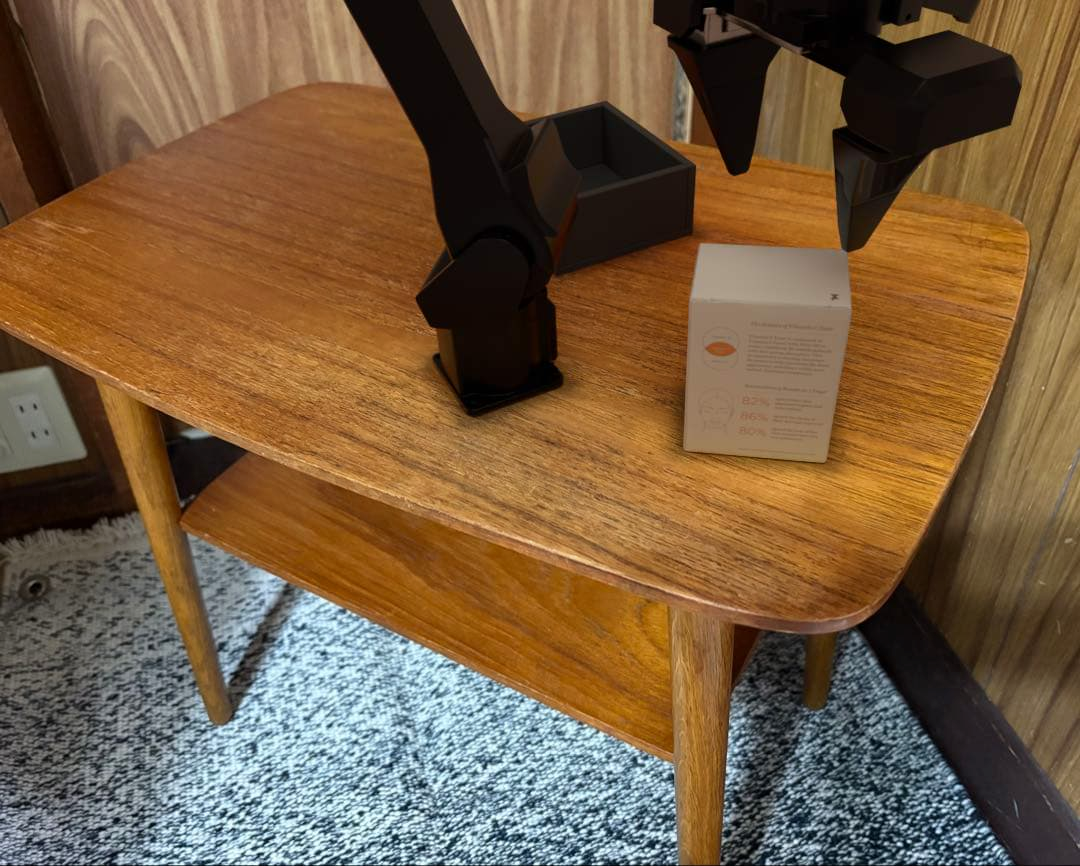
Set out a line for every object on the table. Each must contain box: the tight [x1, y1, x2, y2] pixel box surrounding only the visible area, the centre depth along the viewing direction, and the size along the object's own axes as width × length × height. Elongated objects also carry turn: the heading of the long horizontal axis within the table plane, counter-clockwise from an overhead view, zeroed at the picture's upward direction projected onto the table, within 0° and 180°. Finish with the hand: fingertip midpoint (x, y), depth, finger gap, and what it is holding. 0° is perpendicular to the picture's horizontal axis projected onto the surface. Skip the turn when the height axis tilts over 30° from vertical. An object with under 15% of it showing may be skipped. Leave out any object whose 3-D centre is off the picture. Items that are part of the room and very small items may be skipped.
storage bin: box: [523, 100, 697, 277], centre depth 75 cm, size 11×13×6 cm
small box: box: [682, 242, 853, 464], centre depth 53 cm, size 8×6×10 cm
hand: (792, 208), depth 50 cm, fingers open, 9 cm apart
